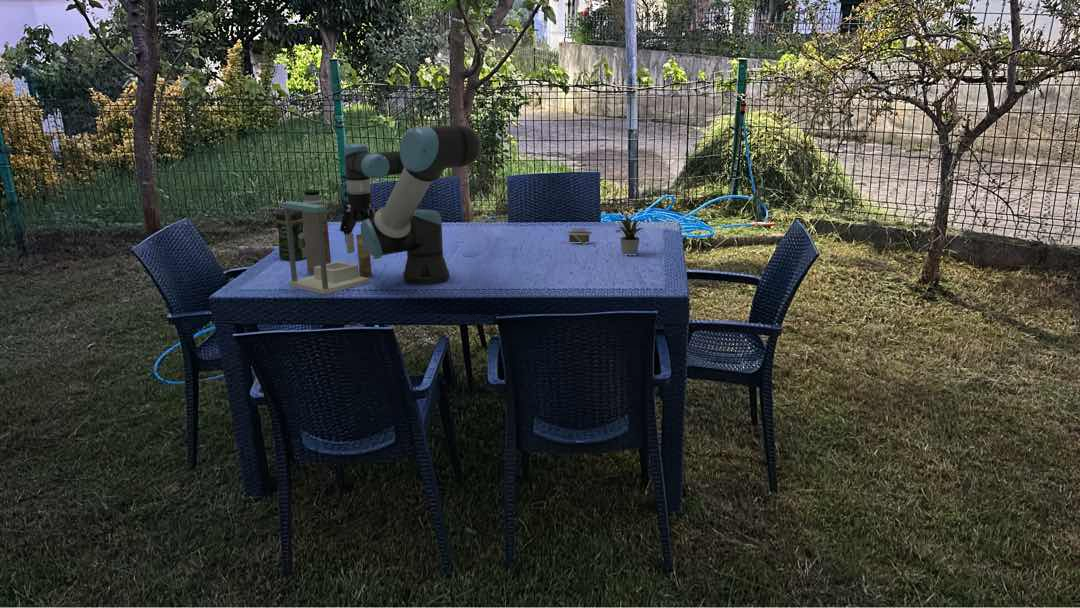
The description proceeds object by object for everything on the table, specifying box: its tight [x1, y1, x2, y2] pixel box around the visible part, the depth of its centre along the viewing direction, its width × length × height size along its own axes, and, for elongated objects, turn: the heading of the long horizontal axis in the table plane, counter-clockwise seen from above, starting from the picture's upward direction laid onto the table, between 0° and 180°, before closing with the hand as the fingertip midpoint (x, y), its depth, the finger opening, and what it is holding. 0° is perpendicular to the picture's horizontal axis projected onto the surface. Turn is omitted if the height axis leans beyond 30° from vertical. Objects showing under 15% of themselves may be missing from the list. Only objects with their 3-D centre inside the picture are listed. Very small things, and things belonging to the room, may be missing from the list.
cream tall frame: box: [280, 200, 370, 295], centre depth 248 cm, size 18×18×27 cm
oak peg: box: [356, 233, 373, 278], centre depth 259 cm, size 4×4×14 cm
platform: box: [566, 227, 593, 243], centre depth 306 cm, size 12×18×7 cm, turn 83°
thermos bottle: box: [302, 190, 332, 276], centre depth 263 cm, size 8×8×28 cm
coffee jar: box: [275, 208, 306, 261], centre depth 286 cm, size 10×8×19 cm
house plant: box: [612, 212, 648, 255], centre depth 285 cm, size 14×14×16 cm
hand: (363, 255), depth 260 cm, fingers open, 13 cm apart
